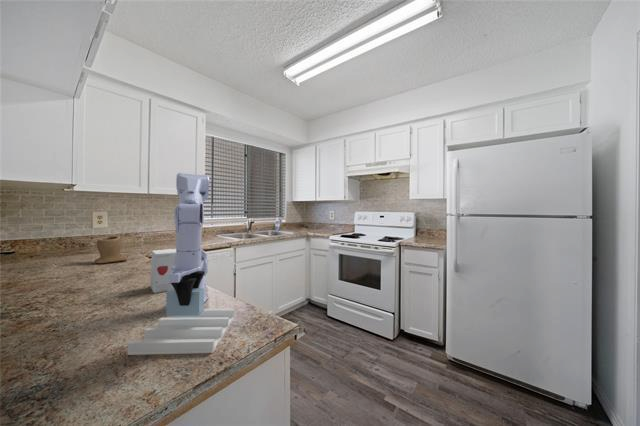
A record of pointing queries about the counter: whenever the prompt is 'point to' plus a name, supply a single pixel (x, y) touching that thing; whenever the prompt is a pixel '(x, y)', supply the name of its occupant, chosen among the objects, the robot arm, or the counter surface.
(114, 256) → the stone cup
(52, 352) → the counter surface
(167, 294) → the blue block
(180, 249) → the robot arm
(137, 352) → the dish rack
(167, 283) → the supplement box
